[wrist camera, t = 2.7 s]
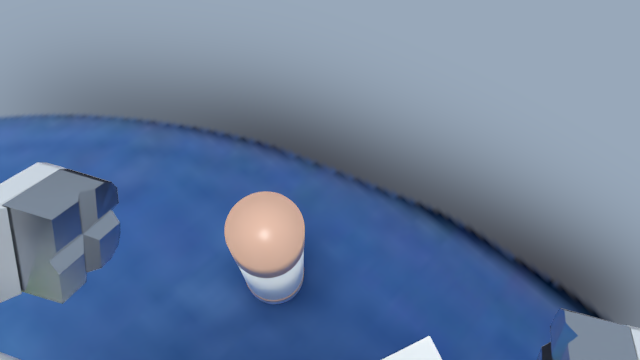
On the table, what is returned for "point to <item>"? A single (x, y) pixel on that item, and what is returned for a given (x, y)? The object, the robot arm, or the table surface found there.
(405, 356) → the board
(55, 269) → the robot arm
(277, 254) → the marker
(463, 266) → the table surface
